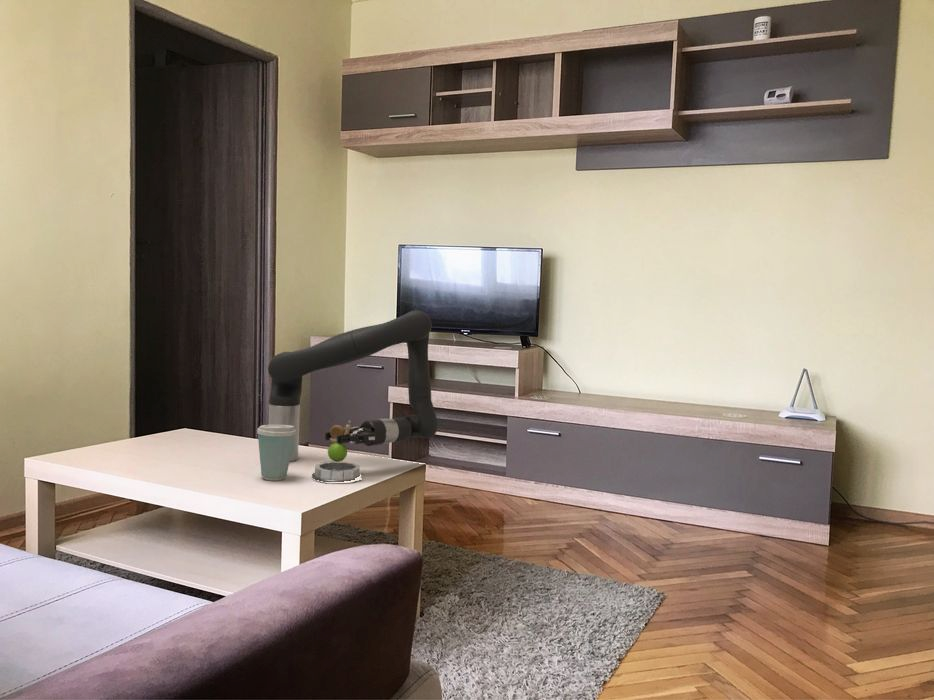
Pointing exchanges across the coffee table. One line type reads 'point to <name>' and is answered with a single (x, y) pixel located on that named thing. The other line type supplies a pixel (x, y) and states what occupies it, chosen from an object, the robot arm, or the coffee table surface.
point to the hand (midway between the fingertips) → (331, 438)
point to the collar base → (336, 471)
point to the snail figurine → (337, 450)
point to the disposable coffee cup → (275, 450)
